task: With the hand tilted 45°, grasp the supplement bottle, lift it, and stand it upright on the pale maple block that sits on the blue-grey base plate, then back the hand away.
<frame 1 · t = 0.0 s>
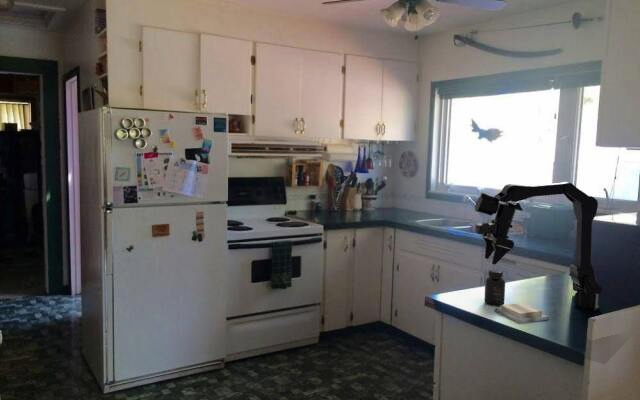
hand: (489, 261, 182), 15 cm above the counter, tool pointing down, fingers open, 9 cm apart
build base: (520, 315, 172), on the counter
supplement bottle: (494, 304, 185), on the counter
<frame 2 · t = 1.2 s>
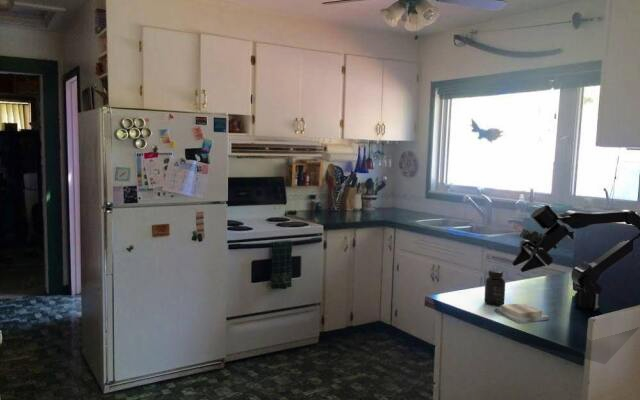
hand: (517, 267, 183), 13 cm above the counter, tool tilted 45°, fingers open, 9 cm apart
nothing on the counter moved.
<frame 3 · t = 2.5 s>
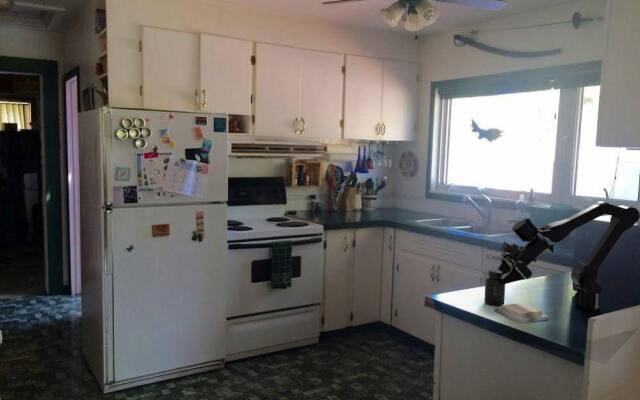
hand: (497, 280, 184), 9 cm above the counter, tool tilted 45°, fingers open, 9 cm apart
nothing on the counter moved.
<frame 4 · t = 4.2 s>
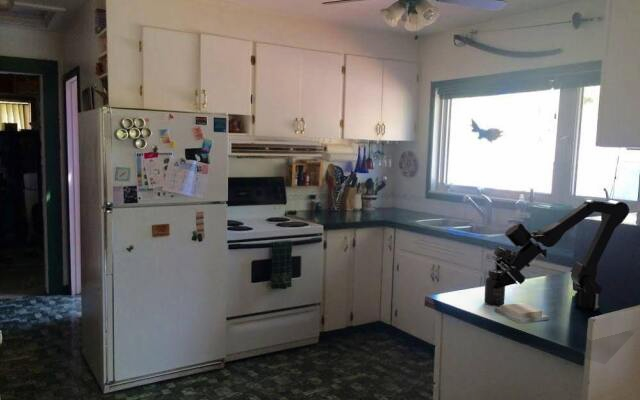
hand: (491, 285, 184), 7 cm above the counter, tool tilted 45°, fingers closed on supplement bottle, 7 cm apart
supplement bottle: (494, 304, 185), on the counter, touching gripper
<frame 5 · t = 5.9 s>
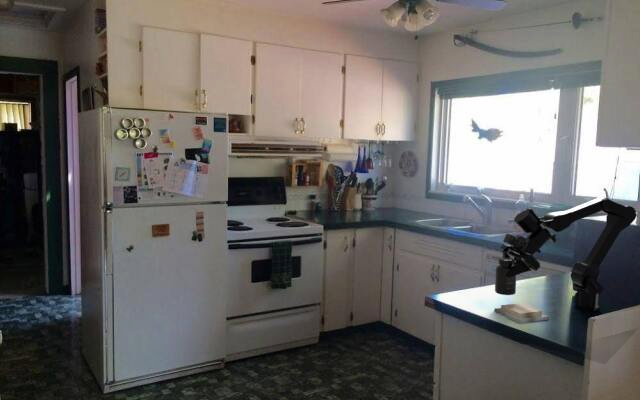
hand: (502, 274, 178), 12 cm above the counter, tool tilted 45°, fingers closed on supplement bottle, 7 cm apart
supplement bottle: (504, 293, 178), point 5 cm above the counter, touching gripper
when the fingers open (10 cm above the counter, at t = 7.8 s): supplement bottle drops 1 cm, resting on build base.
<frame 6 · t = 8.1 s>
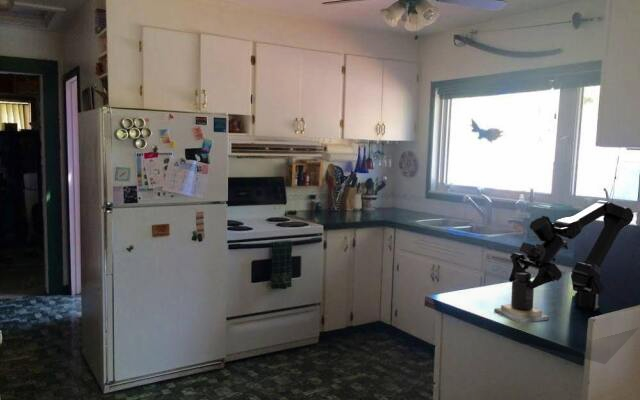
hand: (519, 284, 170), 11 cm above the counter, tool tilted 45°, fingers open, 9 cm apart
supplement bottle: (521, 308, 172), point 2 cm above the counter, touching build base
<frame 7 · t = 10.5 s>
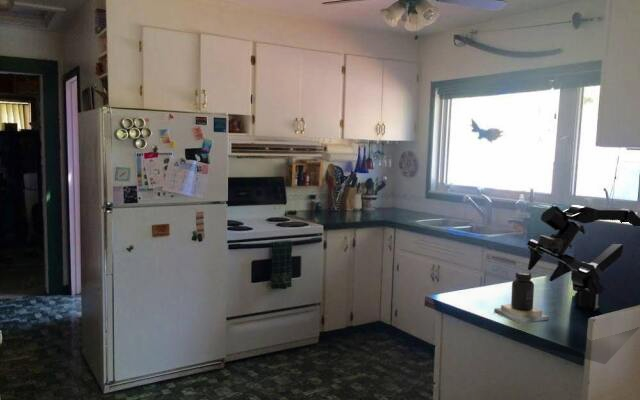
hand: (539, 275, 177), 12 cm above the counter, tool tilted 35°, fingers open, 9 cm apart
nothing on the counter moved.
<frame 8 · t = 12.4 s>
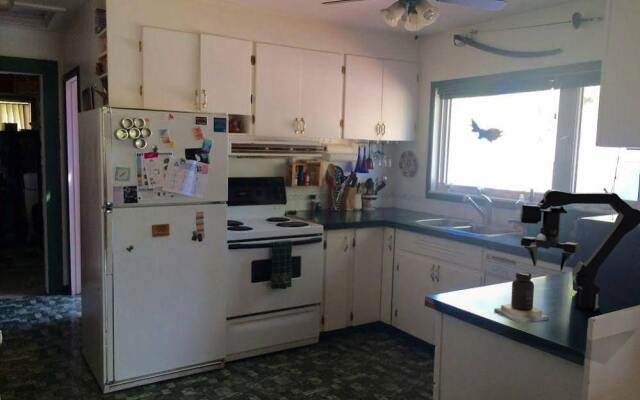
hand: (547, 268, 185), 13 cm above the counter, tool pointing down, fingers open, 9 cm apart
nothing on the counter moved.
at the end: supplement bottle 0.1 cm off-centre on the build base, point 2.3 cm above the build base's base; supplement bottle tilted 0°; the gripper is holding nothing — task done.
